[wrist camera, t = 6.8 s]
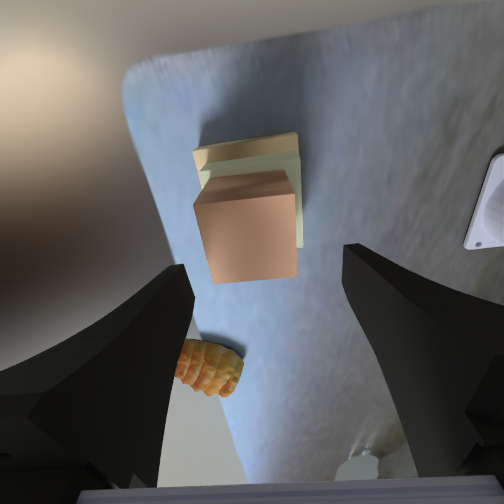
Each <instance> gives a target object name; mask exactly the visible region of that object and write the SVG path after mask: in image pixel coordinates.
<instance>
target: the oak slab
mask: <svg viewBox="0 0 504 504" xmlns="http://www.w3.org/2000/svg"><path fill="white" fill-rule="evenodd" d="M289 151H295V152H296V153H297V154H298V155H299V148H298V134H297V133H295V132H294V131H293V132H287V133H281V134H275V135H268V136H262V137H256V138H250V139H243V140H237V141H231V142H225V143H218V144H212V145H206V146H200V147H197V148H196V149H195V150H193V155H194V159H195V163H196V167H197V171H198V175H199V179H200V183H201V187H202V189H203V186H202V182H201V178H200V174H199V171H200V170H201V169H202V168H203V166H204V165H205V164H206V163H212V162H219V161H226V160H233V159H240V158H247V157H254V156H261V155H268V154H275V153H282V152H289Z"/></svg>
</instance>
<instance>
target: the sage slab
mask: <svg viewBox="0 0 504 504" xmlns="http://www.w3.org/2000/svg"><path fill="white" fill-rule="evenodd" d="M282 169H284V170H285V172H286V174H287V177H288V179H289V181H290V183H291V186H292V188H293V190H294V192H295V211H296V247H297V248H301V247H303V222H302V192H301V162H300V156H299V155H298V154H297V153H296V152H295V151H289V152H282V153H275V154H268V155H261V156H254V157H247V158H240V159H233V160H226V161H219V162H212V163H206V164H205V165H204V166H203V168H202V169H201V170H200V171H199V174H200V178H201V182H202V186H203V188H204V186H205V184H206V183H207V181H208V179H209V178H215V177H224V176H232V175H240V174H249V173H257V172H265V171H274V170H282Z"/></svg>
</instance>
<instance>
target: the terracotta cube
mask: <svg viewBox="0 0 504 504" xmlns="http://www.w3.org/2000/svg"><path fill="white" fill-rule="evenodd" d="M193 207H194V211H195V215H196V219H197V223H198V226H199V230H200V234H201V238H202V242H203V246H204V250H205V254H206V258H207V262H208V265H209V269H210V273H211V277H212V281H213V284H221V283H232V282H243V281H254V280H266V279H277V278H288V277H297V247H296V211H295V192H294V190H293V188H292V186H291V183H290V181H289V179H288V177H287V174H286V172H285V170H284V169H282V170H274V171H265V172H257V173H249V174H240V175H232V176H224V177H215V178H209V179H208V181H207V183H206V184H205V186H204V188H203V189H202V191H201V193H200V194H199V196H198V198H197V199H196V201H195V203H194V204H193Z"/></svg>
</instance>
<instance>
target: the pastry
mask: <svg viewBox="0 0 504 504" xmlns="http://www.w3.org/2000/svg"><path fill="white" fill-rule="evenodd" d="M243 366H244V362H243V360H242V359H241V358H240V357H239V356H238V355H237V353H236V352H235V351H234V350H232V349H231V350H230V349H227V348H225V347H224V346H223V345H220V344H216V343H210V342H207V341H201V340H200V339H199V340H197V339H185V341H184V344H183V348H182V351H181V354H180V357H179V360H178V364H177V367H176V371H175V377H177V378H180V379H181V381H182V383H183V384H189V385H190V386H191V387H192V388H193V389H194V391H200V390H202V391H203V392H204V393H205V394H206V395H207V396H211V395H213V394H215V393H217V394H219V395H220V396H221V397H228V396H229V395H230V394H231V393H232V392H233V391H234V389H235V387H236V385H237V384H238V381H239V379H240V376H241V373H242V370H243Z"/></svg>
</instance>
